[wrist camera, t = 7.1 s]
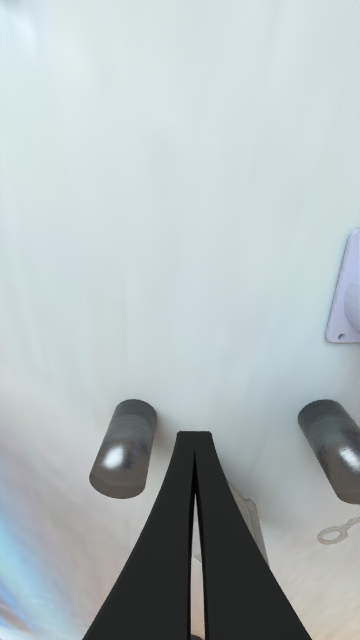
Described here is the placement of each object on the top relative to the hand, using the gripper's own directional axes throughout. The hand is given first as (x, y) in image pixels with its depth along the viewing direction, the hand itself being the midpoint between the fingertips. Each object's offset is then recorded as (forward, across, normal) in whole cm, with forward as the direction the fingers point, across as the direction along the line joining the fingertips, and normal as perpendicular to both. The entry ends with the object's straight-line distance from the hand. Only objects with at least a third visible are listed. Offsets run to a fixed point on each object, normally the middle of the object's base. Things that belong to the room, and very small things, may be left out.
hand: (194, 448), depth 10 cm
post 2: (+9, -12, +8) cm, 17 cm away
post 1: (+9, +6, +8) cm, 14 cm away
